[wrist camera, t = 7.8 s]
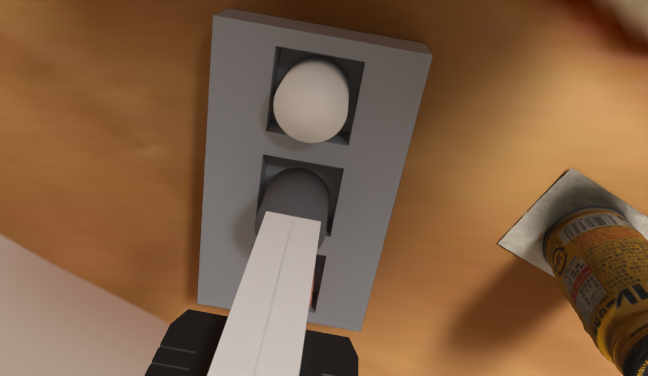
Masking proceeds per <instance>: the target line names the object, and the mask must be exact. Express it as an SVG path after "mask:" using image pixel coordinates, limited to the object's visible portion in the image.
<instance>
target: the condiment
mask: <svg viewBox="0 0 648 376" xmlns="http://www.w3.org/2000/svg"><path fill="white" fill-rule="evenodd" d="M539 232H540V234H541V235H540V236H538V233H539ZM540 238H542V240H541V241H540ZM498 244H499V245H501V246H503V247H504V248H506V249H507V250H509V251H511V252H513V253H514V254H516V255H517V256H519V257H521V258H523V259H524V260H526V261H528V262H529V263H531V264H533V265H534V266H536V267H538V268H540V269H541V270H543V271H545V272H547V273H548V274H550V275H552V276H553V277H555V278H556V280H557V281H558V284H559V285H560V287H561V288H562V290H563V293H564V295H565V297H566V298H567V300H568V301H569V302H570V303H571V305H572V307H573V308H574V310H575V312H576V313H577V314H578V316H579V318H580V320H581V321H582V323H583V326H584V329H585V331H586V332H587V333H588V334H589V335H590V336H591V338H592V339H593V342H594V343H595V345H596V347H597V348H598V349H599V350H600V352H601V353H602V355H603V356H605V357H606V358H607V359H608V360H609V361H611V362H612V363H614V364H615V366H616V368H617V369H618V370H619V371H620V372H621V373H622V374H623V376H648V217H647V216H645V215H644V214H642V213H640V212H639V211H637V210H636V209H634V208H633V207H632V206H630V205H628V204H627V203H625V202H624V201H622V200H621V199H619V198H618V197H616V196H615V195H613V194H611V193H610V192H608V191H607V190H605V189H604V188H602V187H601V186H599V185H598V184H596V183H595V182H594V181H592V180H590V179H589V178H587V177H585V176H584V175H582V174H581V173H580V172H578V171H576V170H575V169H573V168H571V169H570V170H569V171H568V172H567V173H566V174H565V175H564V176H563V177H561V178H560V179H559V180H558V181H557V182H556V183H555V184H554V185H553V186H552V187H551V188H550V189H549V191H548V192H547V193H546V194H544V195H543V196H542V197H541V198H540V199H539V200H538V201H537V202H536V203H535V205H534V206H533V207H532V208H531V209H530V210H529V211H527V212H526V213H525V214H524V216H523V217H522V218H521V219H520V221H519V222H518V223H517V224H516V225H515V226H514V227H512V228H511V229H510V231H509V232H508V233H507V234H506V235H505V236H504V238H503V239H502V240H501V241H500V242H499V243H498Z"/></svg>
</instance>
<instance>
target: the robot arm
mask: <svg viewBox="0 0 648 376" xmlns="http://www.w3.org/2000/svg"><path fill="white" fill-rule="evenodd" d="M320 226H321V221H315V220H310V219H305V218H300V217H294V216H289V215H284V214H279V213H273V212H268V211H266V213H265V216H264V219H263V221H262V224H261V227H260V230H259V233H258V235H257V238H256V241H255V244H254V246H253V249H252V252H251V255H250V258H249V260H248V263H247V266H246V269H245V272H244V274H243V277H242V280H241V283H240V285H239V288H238V291H237V294H236V297H235V299H234V302H233V305H232V308H231V310H230V313H229V316H228V317H227V316H222V315H217V314H211V313H206V312H201V311H195V310H190V309H188V310H187V311H186V312H185V313H183V314H182V315H181V316H180V317H179V318H177V319H176V320H175V321H174V322H173V323H171V324H170V326H169V328H168V330H167V332H166V334H165V336H164V338H163V340H162V342H161V344H160V348H158V350H157V352H156V354H155V356H154V358H153V360H152V363H151V365H150V366H149V368H148V370H147V372H146V374H145V376H358V356H357V354H356V352H355V349H354V347H353V345H352V343H351V341H350V339H349V338H348V337H343V336H337V335H332V334H327V333H321V332H316V331H311V330H306V323H307V316H308V309H309V302H310V295H311V288H312V282H313V275H314V268H315V261H316V254H317V247H318V240H319V233H320Z"/></svg>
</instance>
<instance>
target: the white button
mask: <svg viewBox="0 0 648 376" xmlns="http://www.w3.org/2000/svg"><path fill="white" fill-rule="evenodd" d="M348 102H349V81H348V78H347V75H346V73H345V71H344V70H343V68H342V67H341V66H340V65H339V64H338V63H337V62H335V61H334V60H332V59H330V58H328V57H325V56H320V55H311V56H307V57H304V58H302V59H300V60H298V61H297V62H295V63H294V64H293V65H292V66H291V67H290V69H289V70H288V72H287V74H286V75H285V77H284V79H283V80H282V82H281V84H280V86H279V87H278V89H277V91H276V94H275V97H274V104H273V108H274V114H275V117H276V120H277V122H278V124H279V125H280V127H281V128H282V129H283V131H284V132H285V133H287V134H288V135H289V136H291V137H292V138H294V139H296V140H298V141H301V142H306V143H318V142H322V141H325V140H328V139H330V138H331V137H333V136H334V135H336V134H337V133H338V132H339V131H340V129H341V128H342V127H343V125H344V123H345V121H346V118H347V113H348Z"/></svg>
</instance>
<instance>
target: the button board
mask: <svg viewBox="0 0 648 376" xmlns="http://www.w3.org/2000/svg"><path fill="white" fill-rule="evenodd" d="M311 55H320V56H325V57H328V58H330V59H332V60H334V61H335V62H337V63H338V64H339V65H340V66H341V67H342V68H343V70H344V71H345V73H346V75H347V78H348V81H349V102H348V113H347V118H346V121H345V123H344V125H343V127H342V128H341V129H340V131H339V132H338V133H337V134H336V135H334V136H333V137H331V138H330V139H328V140H325V141H322V142H318V143H306V142H301V141H298V140H296V139H294V138H292V137H291V136H289V135H288V134H287V133H285V132H284V131H283V129H282V128H281V127H280V125H279V124H278V122H277V120H276V117H275V114H274V108H273V104H274V97H275V94H276V91H277V89H278V87H279V86H280V84H281V82H282V80H283V79H284V77H285V75H286V74H287V72H288V70H289V69H290V67H291V66H292V65H293V64H294V63H295V62H297V61H298V60H300V59H302V58H304V57H307V56H311ZM432 57H433V54H432V53H431V51H430V50H429V49H428V47H427V46H426V44H425V43H419V42H414V41H408V40H403V39H397V38H392V37H386V36H381V35H375V34H369V33H364V32H358V31H353V30H347V29H342V28H336V27H331V26H325V25H320V24H314V23H309V22H303V21H298V20H292V19H287V18H281V17H276V16H270V15H265V14H259V13H254V12H248V11H242V10H237V9H231V8H229V9H226V10H224V11H222V12H219V13H217V14H215V15H213V26H212V44H211V62H210V80H209V98H208V116H207V134H206V152H205V170H204V188H203V206H202V224H201V242H200V260H199V279H198V297H197V304H203V305H208V306H214V307H220V308H226V309H231V308H232V305H233V302H234V299H235V297H236V294H237V291H238V288H239V285H240V283H241V280H242V277H243V274H244V272H245V269H246V266H247V263H248V260H249V258H250V255H251V252H252V249H253V246H254V244H255V241H256V238H257V237H256V234H255V228H254V225H255V219H256V216H257V214H258V211H259V208H260V206H261V203H262V201H263V198H264V196H265V193H266V190H267V188H268V185H269V183H270V181H271V180H272V178H273V177H274V176H275V175H276V174H278V173H279V172H281V171H283V170H286V169H289V168H303V169H307V170H310V171H312V172H314V173H316V174H317V175H319V176H320V177H321V178H322V179H323V180H324V182H325V183H326V185H327V187H328V190H329V195H330V200H329V209H328V217H327V225H326V234H325V239H324V241H323V243H322V245H321V247H320V248H319V249H318V250H317V254H316V270H315V277H314V285H313V292H312V299H311V304H310V307H309V309H308V316H307V323H313V324H319V325H324V326H330V327H336V328H342V329H348V330H353V331H359V332H361V328H362V324H363V320H364V317H365V313H366V309H367V305H368V301H369V298H370V294H371V290H372V286H373V282H374V278H375V275H376V271H377V267H378V263H379V259H380V256H381V252H382V248H383V244H384V240H385V237H386V233H387V229H388V225H389V221H390V217H391V214H392V210H393V206H394V202H395V198H396V195H397V191H398V187H399V183H400V179H401V176H402V172H403V168H404V164H405V160H406V157H407V153H408V149H409V145H410V141H411V137H412V134H413V130H414V126H415V122H416V118H417V115H418V111H419V107H420V103H421V99H422V96H423V92H424V88H425V84H426V80H427V76H428V73H429V69H430V65H431V61H432Z"/></svg>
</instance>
